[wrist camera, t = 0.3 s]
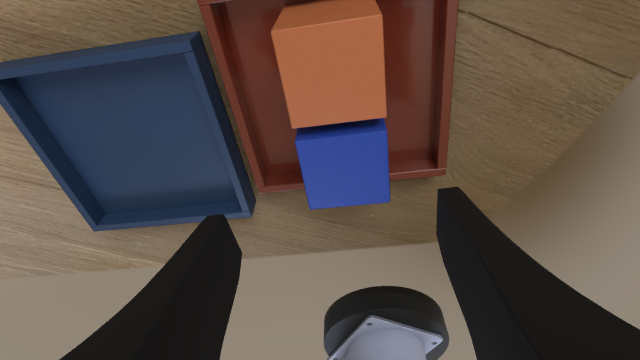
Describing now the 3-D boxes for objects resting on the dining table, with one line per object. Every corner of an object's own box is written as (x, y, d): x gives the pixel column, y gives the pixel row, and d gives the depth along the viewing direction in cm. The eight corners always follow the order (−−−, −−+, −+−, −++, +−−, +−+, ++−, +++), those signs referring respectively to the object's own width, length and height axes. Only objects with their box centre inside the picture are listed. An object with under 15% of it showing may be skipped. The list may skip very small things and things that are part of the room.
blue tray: (256, 201, 24) (251, 217, 23) (105, 215, 25) (93, 231, 24) (199, 31, 18) (189, 40, 16) (1, 61, 19) (-24, 72, 18)
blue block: (380, 153, 21) (390, 202, 17) (313, 160, 21) (309, 210, 18) (377, 88, 19) (387, 130, 15) (301, 98, 19) (294, 141, 16)
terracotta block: (376, 77, 18) (387, 117, 15) (299, 87, 19) (291, 129, 15) (371, -9, 16) (382, 13, 12) (284, 5, 16) (270, 31, 13)
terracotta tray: (439, 160, 22) (445, 175, 20) (262, 178, 23) (258, 194, 22) (451, -55, 15) (462, -52, 14) (205, -13, 16) (194, -7, 15)
